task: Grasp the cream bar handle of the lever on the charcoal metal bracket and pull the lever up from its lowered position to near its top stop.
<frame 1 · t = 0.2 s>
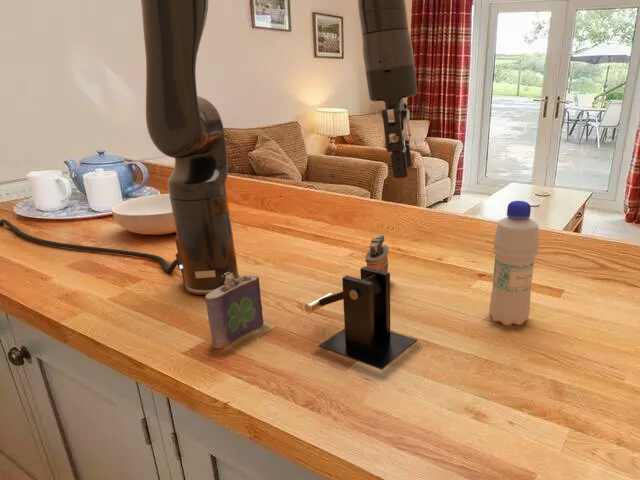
hand: (403, 172, 81), 22 cm above the counter, tool pointing down, fingers open, 8 cm apart
serving bowl: (164, 230, 123), on the counter
bracket: (368, 350, 71), on the counter
lever: (343, 294, 70), point 8 cm above the counter, hinge at -28.0°
lighter: (377, 291, 91), on the counter
bottle: (507, 323, 79), on the counter
flask: (239, 341, 74), on the counter
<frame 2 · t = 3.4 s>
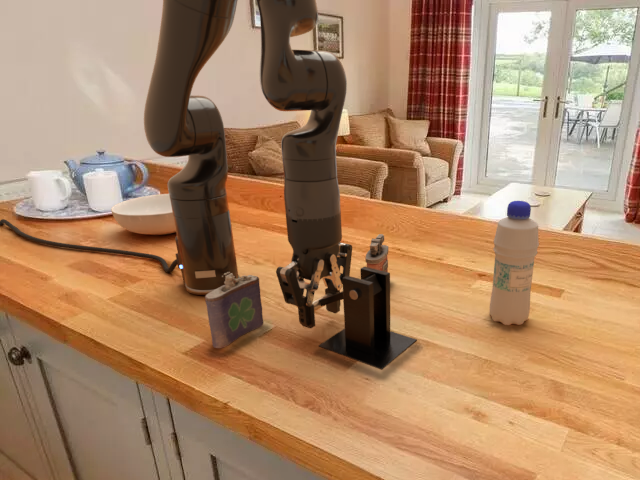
hand: (320, 318, 74), 3 cm above the counter, tool pointing down, fingers closed on lever, 5 cm apart
lever: (343, 294, 70), point 8 cm above the counter, hinge at -28.1°, touching gripper
everything else where it was.
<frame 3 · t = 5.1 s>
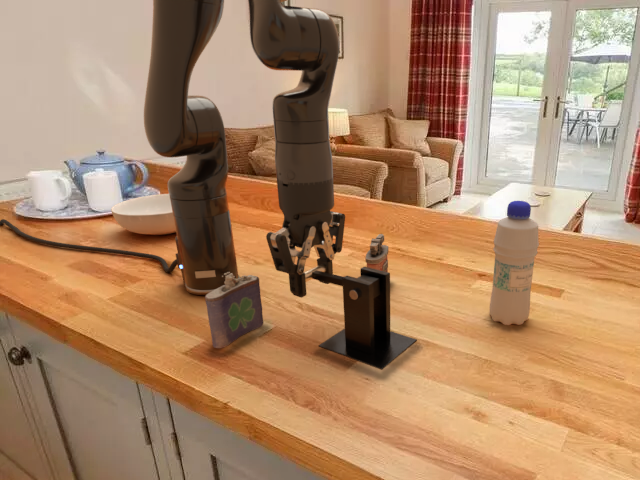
hand: (312, 288, 73), 7 cm above the counter, tool pointing down, fingers closed on lever, 5 cm apart
lever: (340, 280, 69), point 10 cm above the counter, hinge at -1.5°, touching gripper
everything else where it was.
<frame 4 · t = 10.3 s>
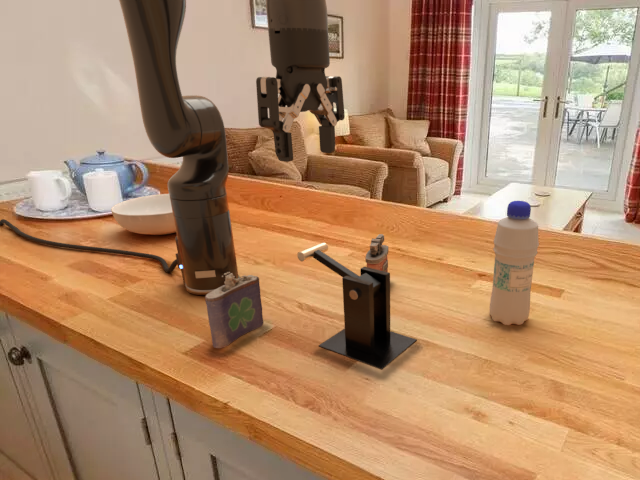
hand: (307, 156, 69), 26 cm above the counter, tool pointing down, fingers open, 8 cm apart
lever: (341, 270, 69), point 12 cm above the counter, hinge at 19.3°
everything else where it was.
at the end: lever at +19° (first picture: -28°) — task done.
